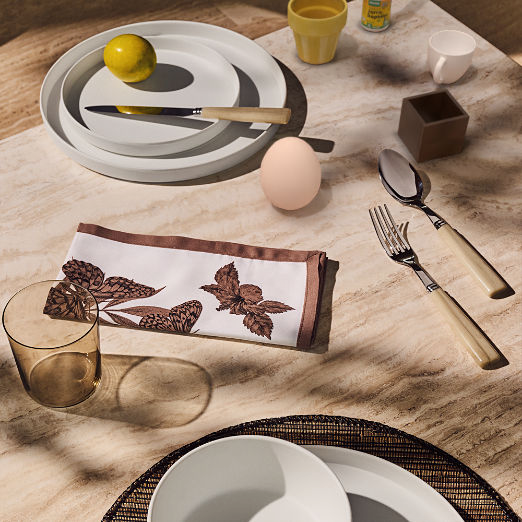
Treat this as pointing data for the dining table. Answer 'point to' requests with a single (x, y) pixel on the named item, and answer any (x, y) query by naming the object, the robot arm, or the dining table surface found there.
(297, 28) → the flower pot
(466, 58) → the cup
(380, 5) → the supplement bottle
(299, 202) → the egg
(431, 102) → the brown square planter
